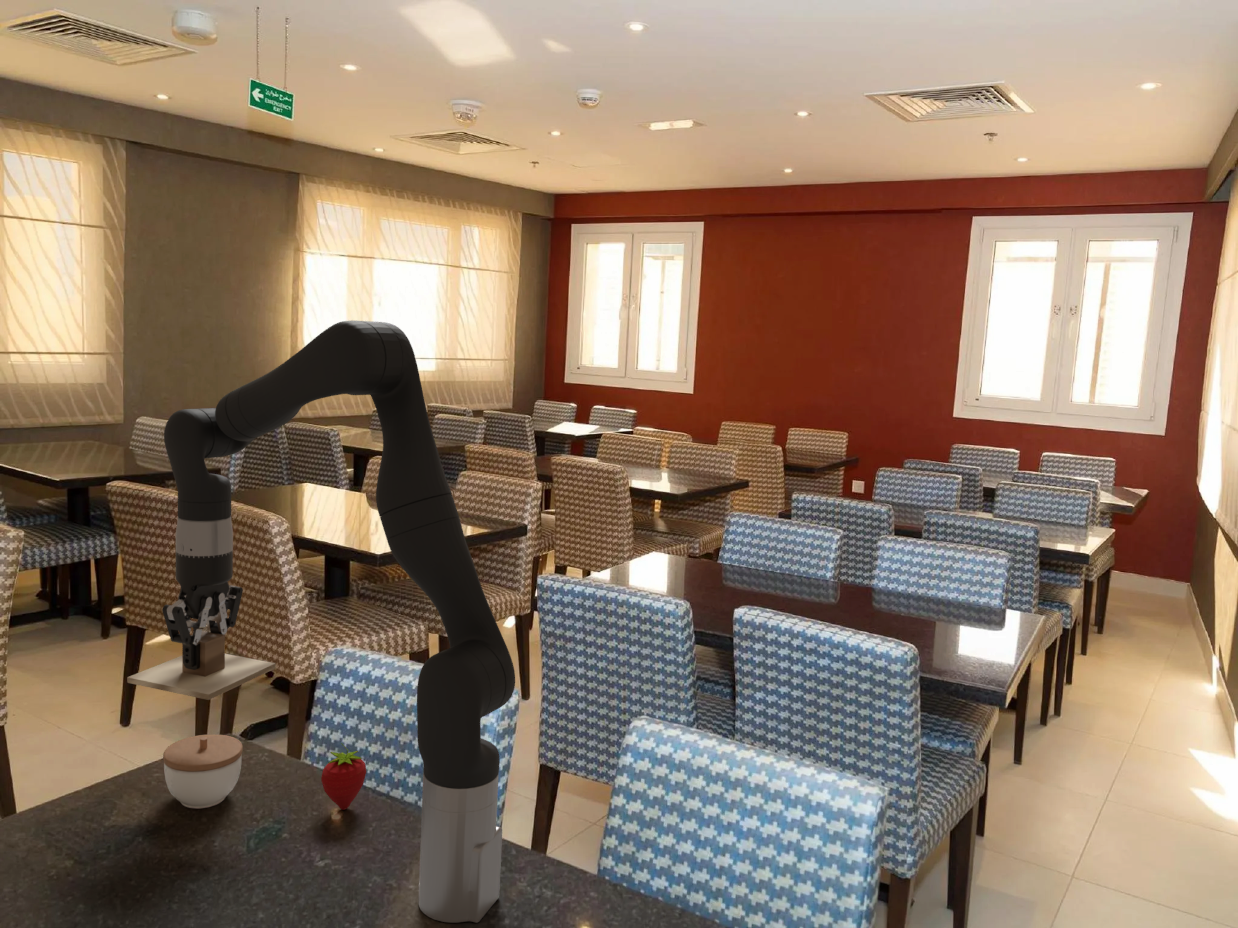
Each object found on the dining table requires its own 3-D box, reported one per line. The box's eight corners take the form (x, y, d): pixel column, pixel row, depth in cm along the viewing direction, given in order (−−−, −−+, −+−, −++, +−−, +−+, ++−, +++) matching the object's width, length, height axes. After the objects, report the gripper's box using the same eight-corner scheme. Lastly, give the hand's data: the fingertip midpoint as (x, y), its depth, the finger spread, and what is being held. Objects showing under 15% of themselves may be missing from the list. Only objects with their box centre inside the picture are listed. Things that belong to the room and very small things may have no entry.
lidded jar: (187, 824, 136) (187, 761, 135) (149, 798, 143) (148, 738, 141) (256, 798, 145) (257, 738, 143) (217, 775, 151) (217, 717, 150)
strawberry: (310, 816, 140) (312, 751, 139) (339, 793, 147) (341, 731, 146) (347, 824, 139) (348, 758, 137) (374, 801, 146) (376, 737, 145)
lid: (275, 668, 145) (275, 630, 145) (208, 699, 132) (208, 658, 131) (199, 653, 150) (199, 617, 149) (127, 682, 137) (126, 642, 136)
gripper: (189, 561, 131) (188, 683, 133) (259, 542, 144) (258, 653, 146) (144, 554, 133) (145, 674, 135) (218, 535, 146) (217, 645, 149)
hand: (204, 662), depth 141 cm, fingers closed on lid, 4 cm apart
